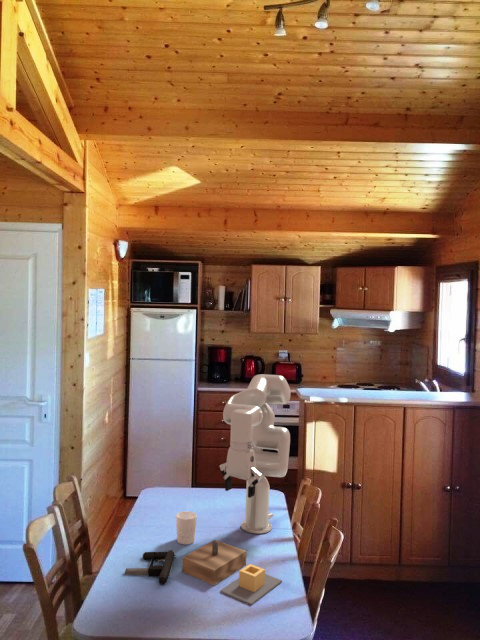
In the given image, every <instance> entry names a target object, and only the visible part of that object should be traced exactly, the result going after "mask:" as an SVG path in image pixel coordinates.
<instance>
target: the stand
mask: <svg viewBox="0 0 480 640" xmlns="http://www.w3.org/2000/svg"><path fill="white" fill-rule="evenodd" d="M181 559H182V561H181V562H182V563H181V572H182V573H184V574H186V575H188V576H190V577H193V578H195V579H198V580H200V581H202V582H205V583H207V584H209V585H211V586H216V585H217V584H219V583H220V582H222V581H223V580H225V579H227V578H228V577H230V576H231V575H233V574H235V573H236V572H237V571H240V570H241V569H243V568H244V567H246V566H247V550H245V549H242V548H239V547H236V546H234V545H231V544H228V543H226V542H222V541H219V540H217V539H214V540H212V541H211V542H209V543H207V544H205V545H203V546H201V547H200V548H196V549H195V550H193V551H192V552H190V553H188V554H186V555H185V556H182V558H181Z"/></svg>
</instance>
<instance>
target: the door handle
mask: <svg viewBox="0 0 480 640" xmlns="http://www.w3.org/2000/svg"><path fill="white" fill-rule="evenodd" d="M175 556H176V553H175V551H174V550H173V549H172V550H171V549H170V550H169V549H168V550H167V551H145V552H143V554H142V559H143V560H144V561H150V563H149V567H139V568H137V567H136V568H135V567H131V568H129V567H128V568H125V570H124V575H127V576H148V577H152V578H158V583H159V585H164V586H165V585H166V584H167V582H168V581H169V577H170V576H171V572H172V569H173V564H174V559H176V557H175ZM155 561H156V562H157V563H160V562H163V563H162V564H157V565H156V564H155Z"/></svg>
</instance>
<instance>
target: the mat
mask: <svg viewBox="0 0 480 640" xmlns="http://www.w3.org/2000/svg"><path fill="white" fill-rule="evenodd" d="M282 582H283V580H282V579H279V578H278V577H274V576H271V575H269V574H266V573H265V585H263V586H262V587H261V588H259V589H258V590H257V591H255V592H253V591H250V590H248V589H245V588H243V587H240V586H239V577H238V578H237V579H235V580H233V581H232V582H231V583H229V584H228V585H226V586H224V587H223V588H221V589H220V591H219V592H220V593H221V594H223V595H226V596H228V597H231V598H232V599H235V600H237V601H240V602H242V603H244V604H247V605H249V606H253V605H254V604H256V603H257V602H258V601H259V600H260V599H262V598H264V597H265V596H266V595H267V594H268V593H270V592H271V591H273V589H275V588H277V587H278V586H279V585H280V584H282Z"/></svg>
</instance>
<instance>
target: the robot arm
mask: <svg viewBox="0 0 480 640" xmlns="http://www.w3.org/2000/svg"><path fill="white" fill-rule="evenodd" d="M291 393H292V392H291V388H290V385H289V383H288V381H287V379H286V378H285V377H284V376H283V375H279V374H262V373H261V374H256V375H254V376H253V377H252V378H251V381H250V382H249V385H248V386H247V388H246V389H245V390H242V391H240V392H237V393H236V394H233V395H232V396H231V397H230V398H229V399H228V400H227V402H226V403H225V406H224V408H223V412H222V418H223V421H224V423H226V424H227V425H230V440H229V444H230V447H228V450H227V456H226V462H224V463H222V464H220V465H219V468H220V471H221V475H222V476H223V479H224V488H225V489H224V490H225V492H228V491H231V490H232V488H233V478H237V479H240V480H244V481H246V485H245V486H246V490H245V517H244V519H245V520H243V521H242V522H241V525H240V528H241V529H242V530H243V531H245V532H247V533H250V534H266V533H269V532H270V531H271V530H272V528H273V525H272V524H271V522H270V521H269V520H270V519H271V518H273V517H274V513H273V512H270V511H269V509H270V507H269V506H270V483H269V481H268V479H267V477H273V478H284V477H285V476H286V474H287V472H288V469H289V468H288V467H289V459H290V457H289V456H290V446H291V433H290V431H289V429H288V428H286V427H284V426H275V418H276V417H275V412H274V411H273V409H272V408H271V406H270V405H269V404H274V405H286V404H288V403H289V401H290V399H291ZM255 448H258V449H263V450H265V451H263V450H261V451H260V450H254V449H255ZM266 450H272V451H273V450H274V451H277V452H272V451H266Z"/></svg>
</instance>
